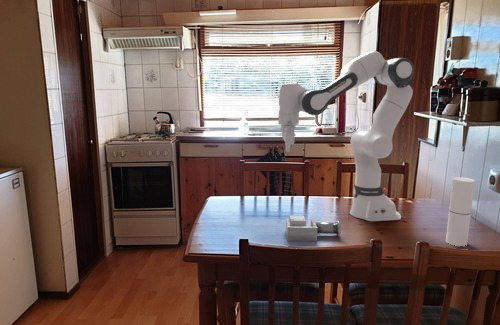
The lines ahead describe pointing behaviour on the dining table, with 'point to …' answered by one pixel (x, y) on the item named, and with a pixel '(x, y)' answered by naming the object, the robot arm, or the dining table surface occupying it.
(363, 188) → the robot arm
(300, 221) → the skincare box
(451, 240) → the cylindrical container
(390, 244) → the dining table surface
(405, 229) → the dining table surface
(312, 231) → the grey compartment organizer
